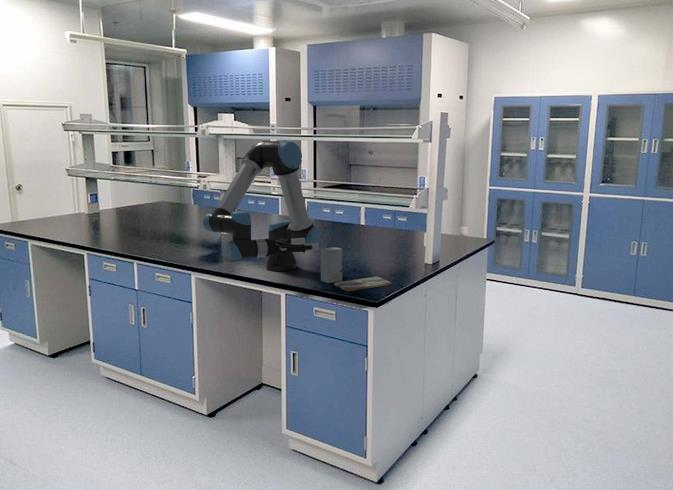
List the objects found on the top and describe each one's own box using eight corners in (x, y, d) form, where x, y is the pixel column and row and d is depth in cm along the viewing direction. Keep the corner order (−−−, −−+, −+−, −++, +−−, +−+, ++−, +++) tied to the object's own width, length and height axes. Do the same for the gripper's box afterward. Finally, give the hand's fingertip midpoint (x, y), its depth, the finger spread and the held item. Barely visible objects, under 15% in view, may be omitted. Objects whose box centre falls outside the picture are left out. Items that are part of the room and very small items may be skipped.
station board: (333, 284, 239) (333, 282, 239) (376, 278, 249) (376, 276, 249) (347, 291, 229) (347, 289, 228) (391, 284, 239) (391, 282, 238)
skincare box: (327, 283, 240) (327, 250, 238) (320, 281, 245) (319, 248, 242) (343, 280, 245) (342, 248, 242) (335, 278, 250) (335, 246, 247)
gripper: (254, 251, 238) (299, 247, 248) (276, 262, 217) (324, 257, 227) (254, 234, 237) (299, 230, 247) (276, 243, 215) (324, 239, 225)
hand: (311, 243), depth 237 cm, fingers open, 13 cm apart
